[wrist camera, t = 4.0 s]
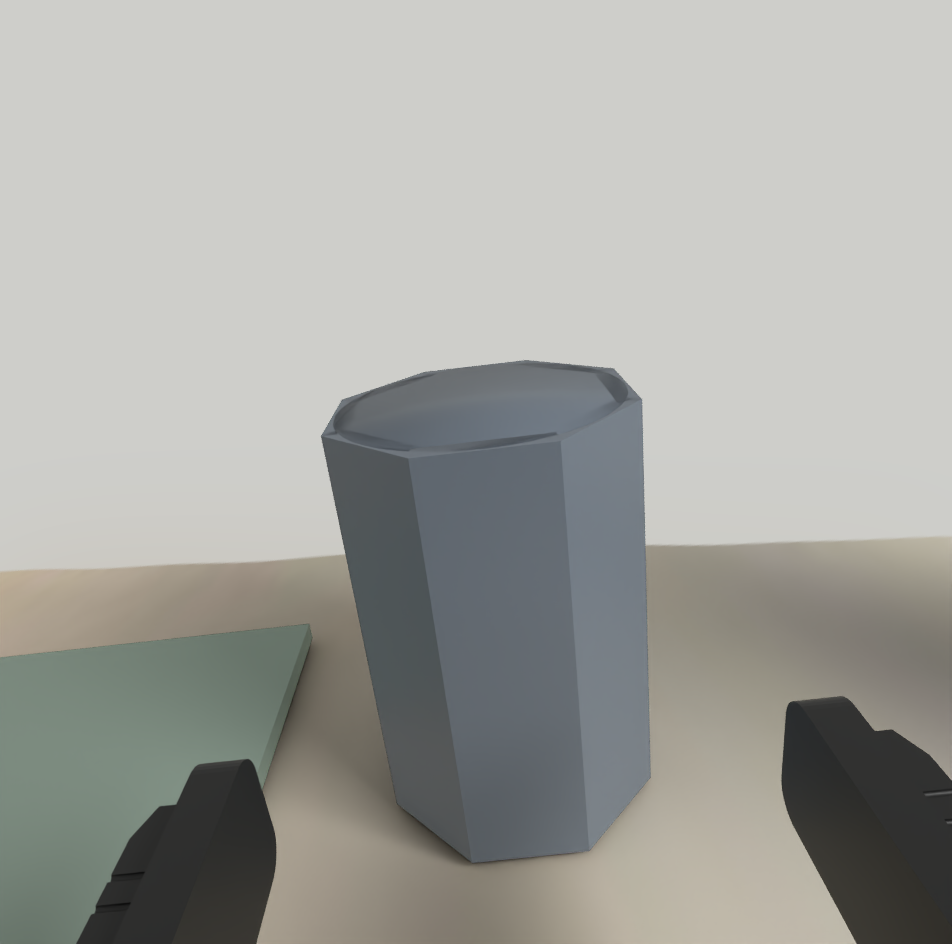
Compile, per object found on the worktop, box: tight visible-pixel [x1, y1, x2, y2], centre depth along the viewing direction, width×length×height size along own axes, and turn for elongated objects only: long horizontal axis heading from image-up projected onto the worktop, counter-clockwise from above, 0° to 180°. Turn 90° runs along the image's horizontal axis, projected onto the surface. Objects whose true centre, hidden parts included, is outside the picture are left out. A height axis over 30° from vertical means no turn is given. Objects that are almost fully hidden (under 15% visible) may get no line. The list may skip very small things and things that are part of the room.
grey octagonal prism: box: [321, 360, 650, 863], centre depth 17 cm, size 6×6×10 cm
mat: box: [0, 624, 312, 944], centre depth 19 cm, size 14×13×1 cm
